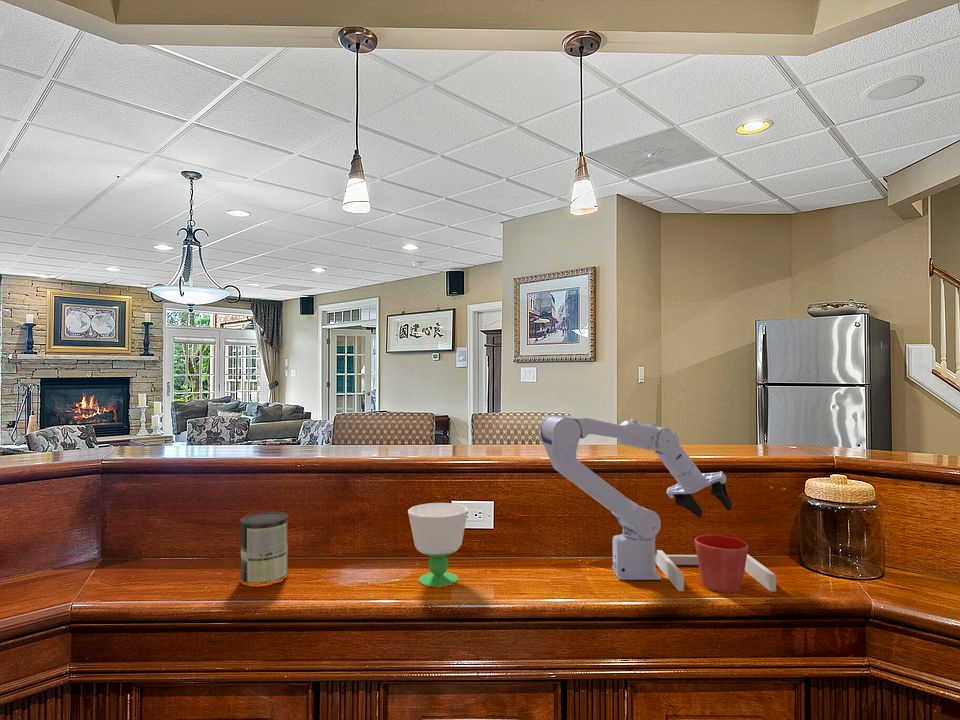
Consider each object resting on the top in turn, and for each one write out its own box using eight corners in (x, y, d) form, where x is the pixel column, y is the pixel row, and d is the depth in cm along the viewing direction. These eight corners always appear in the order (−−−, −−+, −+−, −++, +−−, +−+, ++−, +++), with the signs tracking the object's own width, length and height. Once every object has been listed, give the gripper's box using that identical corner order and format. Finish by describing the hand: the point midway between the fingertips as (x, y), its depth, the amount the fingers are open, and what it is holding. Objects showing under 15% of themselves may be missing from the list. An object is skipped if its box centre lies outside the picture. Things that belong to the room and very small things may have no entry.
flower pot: (738, 577, 128) (737, 534, 128) (756, 597, 117) (755, 549, 117) (689, 576, 129) (688, 533, 129) (703, 595, 118) (702, 548, 118)
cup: (403, 573, 133) (402, 505, 133) (459, 566, 137) (458, 500, 137) (414, 595, 120) (414, 519, 120) (476, 586, 124) (475, 513, 124)
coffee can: (229, 583, 127) (229, 520, 127) (265, 568, 136) (264, 510, 137) (263, 590, 123) (263, 525, 123) (297, 575, 132) (297, 514, 132)
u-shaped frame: (678, 591, 120) (678, 574, 120) (655, 563, 138) (655, 548, 138) (776, 591, 119) (775, 574, 120) (740, 563, 137) (740, 548, 137)
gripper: (712, 448, 132) (745, 492, 134) (660, 466, 141) (691, 506, 143) (708, 467, 127) (742, 512, 128) (653, 485, 136) (686, 526, 138)
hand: (715, 511), depth 135 cm, fingers open, 7 cm apart
